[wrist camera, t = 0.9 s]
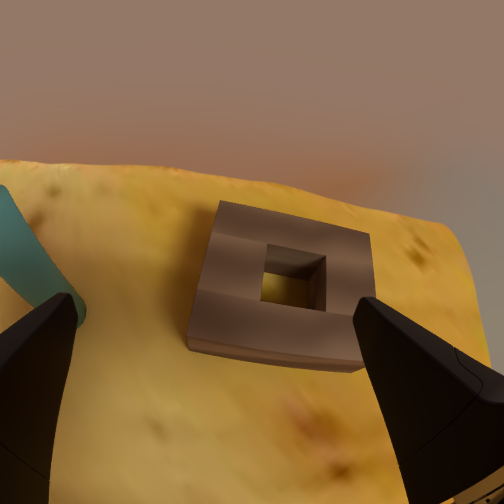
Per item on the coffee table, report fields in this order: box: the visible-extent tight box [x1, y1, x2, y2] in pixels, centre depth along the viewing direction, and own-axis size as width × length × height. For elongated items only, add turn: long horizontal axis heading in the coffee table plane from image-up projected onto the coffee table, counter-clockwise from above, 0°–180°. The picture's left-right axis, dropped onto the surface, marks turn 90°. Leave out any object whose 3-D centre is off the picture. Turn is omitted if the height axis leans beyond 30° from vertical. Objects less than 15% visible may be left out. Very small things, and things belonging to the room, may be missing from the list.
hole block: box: [186, 200, 376, 373], centre depth 24 cm, size 12×14×4 cm
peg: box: [0, 185, 86, 328], centre depth 16 cm, size 4×4×14 cm
